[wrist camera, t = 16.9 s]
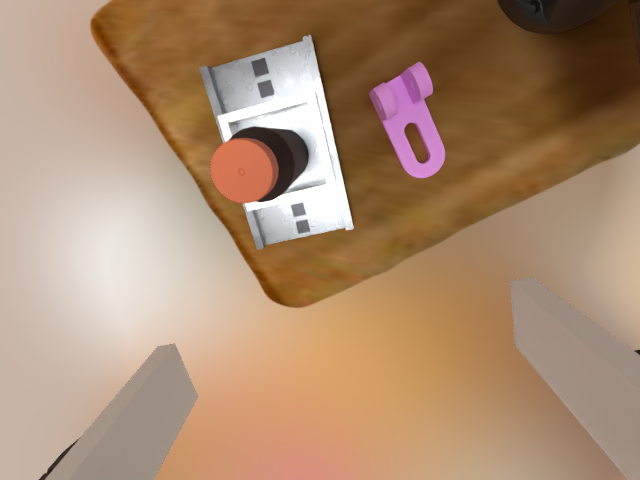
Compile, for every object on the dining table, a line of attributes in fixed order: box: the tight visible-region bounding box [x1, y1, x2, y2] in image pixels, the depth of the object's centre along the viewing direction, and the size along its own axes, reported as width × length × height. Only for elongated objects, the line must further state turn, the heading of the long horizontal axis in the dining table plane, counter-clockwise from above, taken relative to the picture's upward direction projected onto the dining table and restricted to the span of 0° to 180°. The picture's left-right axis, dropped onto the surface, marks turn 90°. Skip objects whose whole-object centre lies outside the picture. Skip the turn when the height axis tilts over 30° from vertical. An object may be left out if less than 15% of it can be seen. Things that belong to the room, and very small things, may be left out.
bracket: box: [369, 62, 445, 178], centre depth 39 cm, size 13×6×7 cm, turn 29°
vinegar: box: [210, 126, 309, 204], centre depth 34 cm, size 7×7×20 cm
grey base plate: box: [199, 35, 354, 250], centre depth 42 cm, size 14×24×4 cm, turn 14°
